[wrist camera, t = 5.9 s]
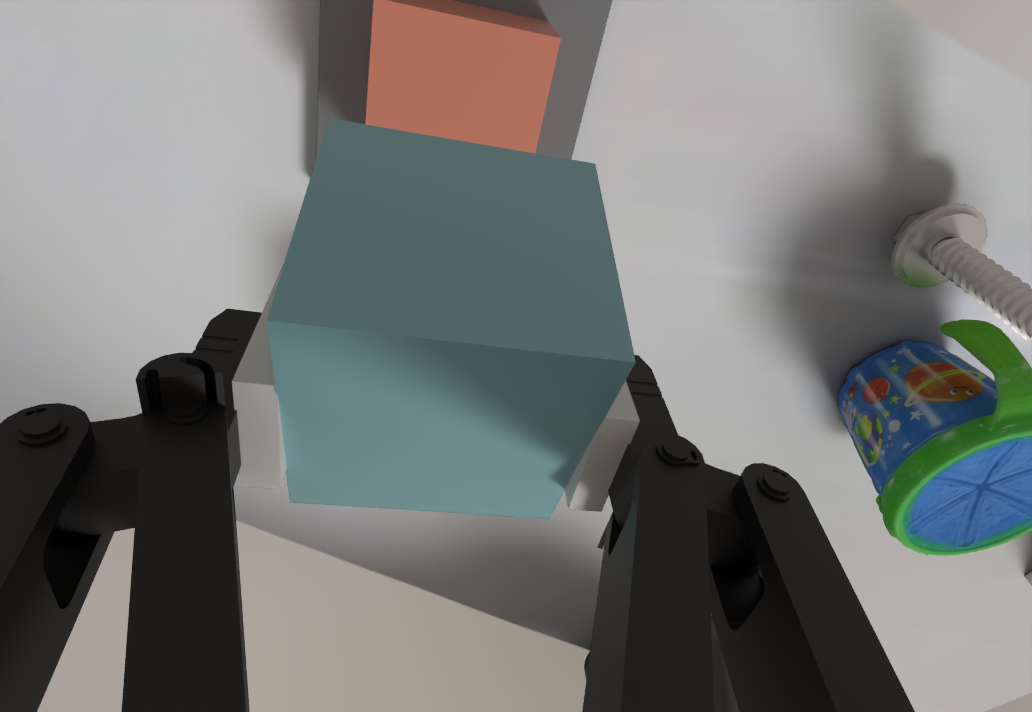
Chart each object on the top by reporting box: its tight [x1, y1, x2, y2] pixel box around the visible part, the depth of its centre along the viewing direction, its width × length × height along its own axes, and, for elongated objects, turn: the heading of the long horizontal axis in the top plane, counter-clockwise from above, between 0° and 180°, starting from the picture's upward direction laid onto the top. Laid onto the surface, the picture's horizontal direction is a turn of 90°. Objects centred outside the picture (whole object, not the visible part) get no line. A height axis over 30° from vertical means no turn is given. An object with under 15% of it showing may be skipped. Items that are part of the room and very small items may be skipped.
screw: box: [891, 204, 1032, 341], centre depth 30 cm, size 13×5×5 cm
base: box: [317, 0, 612, 160], centre depth 27 cm, size 12×12×5 cm
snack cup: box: [839, 320, 1032, 555], centre depth 38 cm, size 16×11×10 cm
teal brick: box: [267, 118, 636, 519], centre depth 14 cm, size 6×6×6 cm
